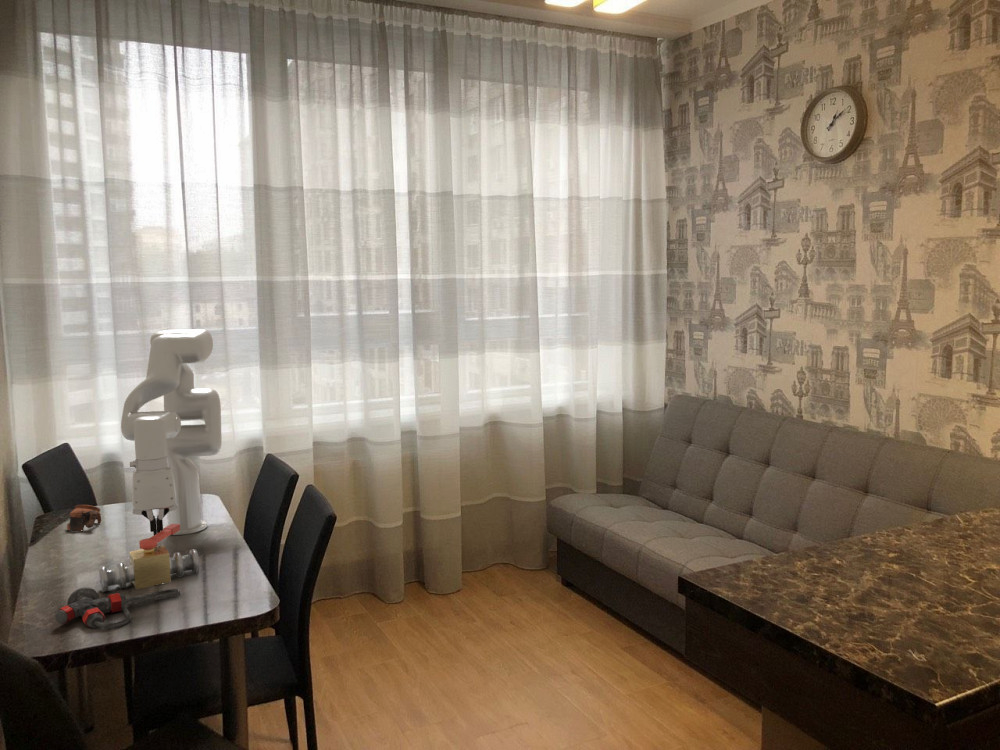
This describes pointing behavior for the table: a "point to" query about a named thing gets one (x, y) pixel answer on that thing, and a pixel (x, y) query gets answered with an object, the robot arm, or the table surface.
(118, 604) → the valve
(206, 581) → the table surface
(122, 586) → the ball valve
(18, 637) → the table surface
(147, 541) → the lever
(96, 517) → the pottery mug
